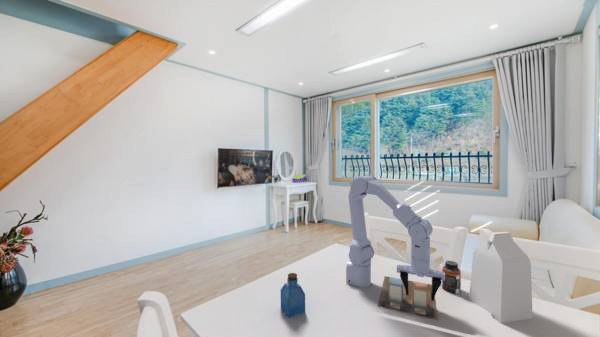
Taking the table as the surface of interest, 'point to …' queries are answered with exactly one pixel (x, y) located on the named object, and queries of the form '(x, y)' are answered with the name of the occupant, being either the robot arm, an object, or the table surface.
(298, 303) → the perfume bottle
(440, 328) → the table surface
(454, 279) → the supplement bottle
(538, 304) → the table surface
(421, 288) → the peach carton
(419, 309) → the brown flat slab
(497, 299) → the milk
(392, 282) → the slate carton
